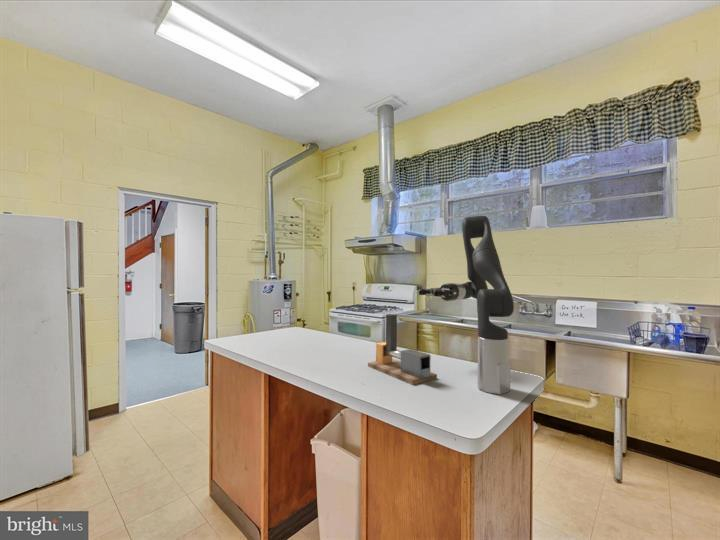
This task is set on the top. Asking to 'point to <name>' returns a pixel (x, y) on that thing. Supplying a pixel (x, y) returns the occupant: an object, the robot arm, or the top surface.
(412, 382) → the base board
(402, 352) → the guide sleeve
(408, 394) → the top surface
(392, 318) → the sliding bolt
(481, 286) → the robot arm
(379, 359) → the socket block
